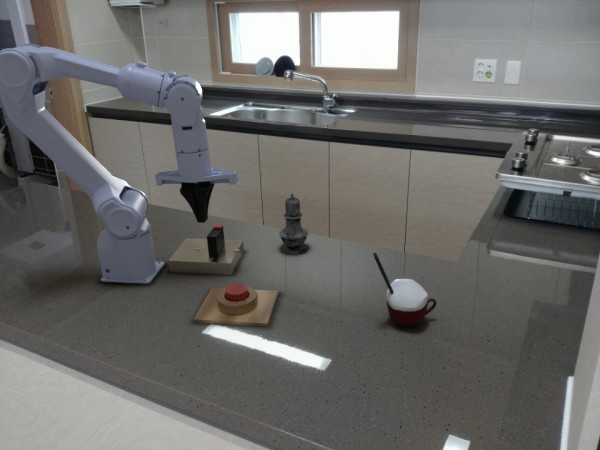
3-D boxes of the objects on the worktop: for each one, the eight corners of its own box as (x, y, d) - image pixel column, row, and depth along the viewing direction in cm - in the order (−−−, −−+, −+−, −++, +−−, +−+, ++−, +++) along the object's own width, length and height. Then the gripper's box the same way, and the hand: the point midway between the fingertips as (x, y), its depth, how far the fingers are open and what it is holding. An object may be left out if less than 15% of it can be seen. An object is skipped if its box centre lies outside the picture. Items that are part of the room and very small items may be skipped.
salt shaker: (305, 256, 106) (304, 199, 101) (276, 254, 107) (273, 197, 102) (310, 243, 111) (309, 188, 107) (283, 241, 112) (280, 187, 108)
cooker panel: (169, 272, 101) (168, 259, 100) (187, 249, 110) (185, 237, 109) (234, 275, 100) (233, 262, 99) (246, 251, 109) (246, 239, 108)
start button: (223, 302, 87) (222, 294, 86) (229, 291, 90) (228, 282, 90) (245, 303, 87) (244, 295, 86) (250, 292, 90) (249, 283, 89)
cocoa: (436, 314, 86) (441, 246, 81) (431, 336, 80) (437, 265, 76) (377, 305, 89) (379, 239, 84) (369, 325, 83) (371, 257, 79)
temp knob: (217, 256, 101) (215, 235, 100) (208, 255, 102) (206, 235, 100) (224, 244, 106) (223, 225, 104) (216, 244, 106) (214, 224, 105)
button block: (193, 322, 86) (192, 309, 85) (211, 290, 95) (210, 278, 94) (267, 327, 84) (266, 313, 83) (278, 294, 93) (278, 281, 92)
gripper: (238, 141, 96) (246, 211, 101) (160, 143, 98) (172, 212, 103) (227, 152, 89) (236, 227, 95) (145, 154, 91) (159, 227, 97)
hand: (202, 220), depth 99 cm, fingers closed
